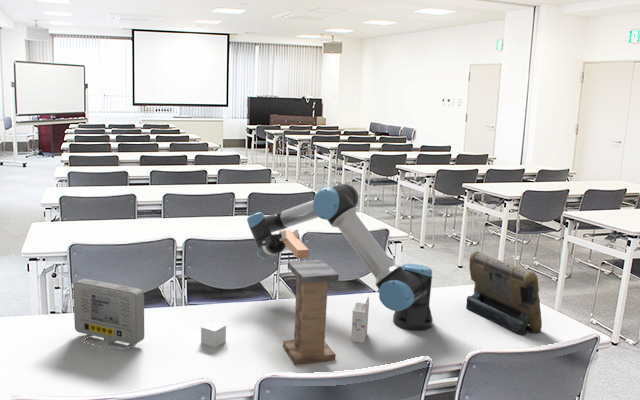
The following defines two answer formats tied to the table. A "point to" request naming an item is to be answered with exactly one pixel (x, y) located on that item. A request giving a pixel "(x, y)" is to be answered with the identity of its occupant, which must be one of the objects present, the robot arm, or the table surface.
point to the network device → (109, 313)
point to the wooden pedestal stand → (310, 312)
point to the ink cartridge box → (360, 322)
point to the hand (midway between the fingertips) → (291, 233)
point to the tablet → (504, 294)
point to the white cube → (213, 334)
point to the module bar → (295, 245)
